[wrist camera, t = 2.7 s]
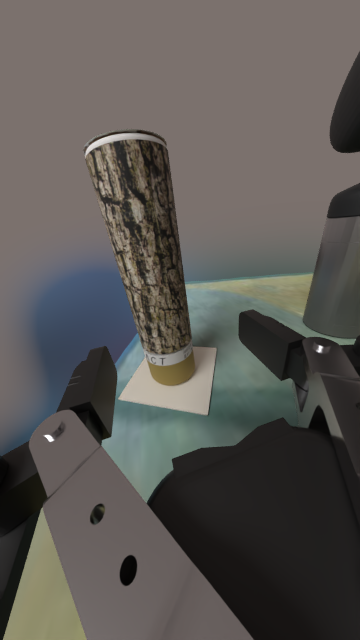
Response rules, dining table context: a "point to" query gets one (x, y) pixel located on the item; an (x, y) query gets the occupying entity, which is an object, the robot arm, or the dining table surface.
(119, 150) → the brown bark cylinder
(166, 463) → the dining table surface
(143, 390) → the card
